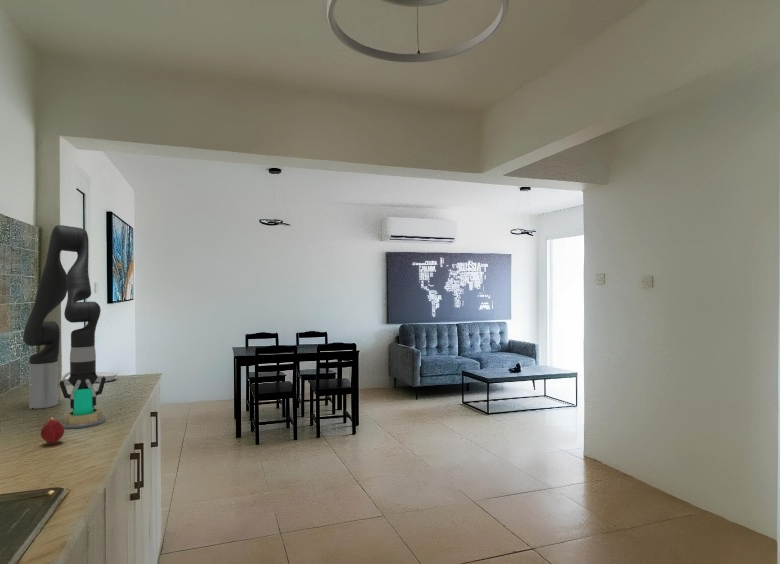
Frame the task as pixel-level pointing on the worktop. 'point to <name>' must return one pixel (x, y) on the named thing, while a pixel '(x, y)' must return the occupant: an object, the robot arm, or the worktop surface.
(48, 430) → the onion
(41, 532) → the worktop surface
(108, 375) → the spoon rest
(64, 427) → the dish
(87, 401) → the candle
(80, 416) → the collar
